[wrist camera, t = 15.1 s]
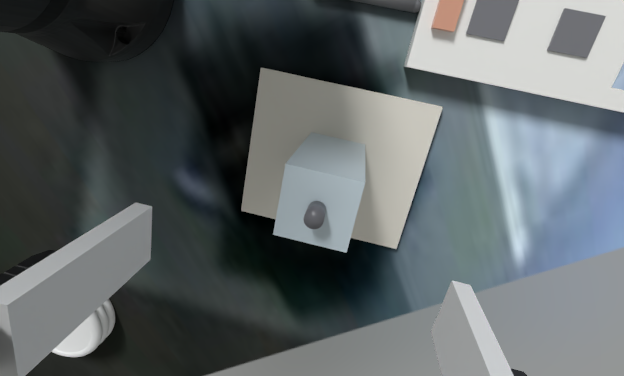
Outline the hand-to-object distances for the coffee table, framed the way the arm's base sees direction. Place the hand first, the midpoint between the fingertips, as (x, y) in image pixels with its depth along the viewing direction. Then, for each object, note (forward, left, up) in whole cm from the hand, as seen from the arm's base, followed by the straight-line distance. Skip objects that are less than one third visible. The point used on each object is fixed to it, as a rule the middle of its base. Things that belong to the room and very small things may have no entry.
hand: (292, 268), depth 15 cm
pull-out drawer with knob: (0, 0, -19) cm, 18 cm away
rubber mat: (0, 0, -19) cm, 19 cm away
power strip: (+14, +14, -19) cm, 27 cm away
